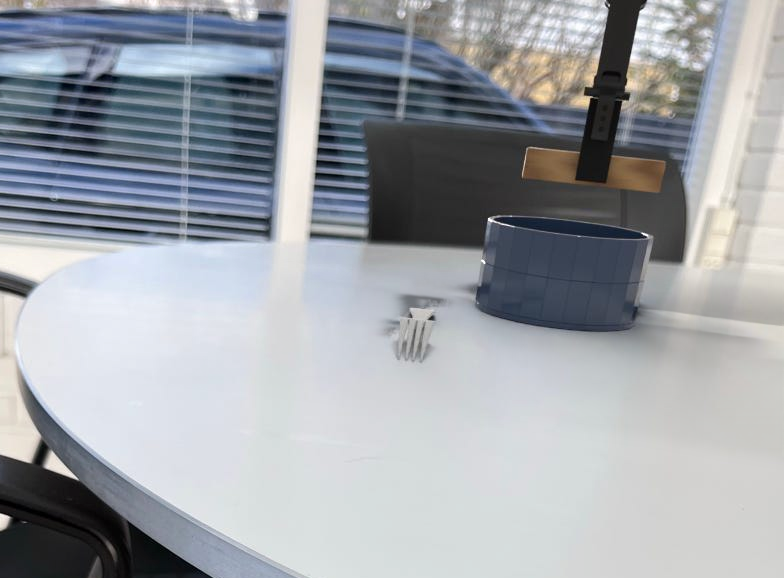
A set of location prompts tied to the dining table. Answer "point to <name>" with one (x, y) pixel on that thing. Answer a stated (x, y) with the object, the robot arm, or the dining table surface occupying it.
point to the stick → (620, 176)
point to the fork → (416, 323)
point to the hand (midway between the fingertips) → (590, 180)
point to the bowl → (562, 273)
